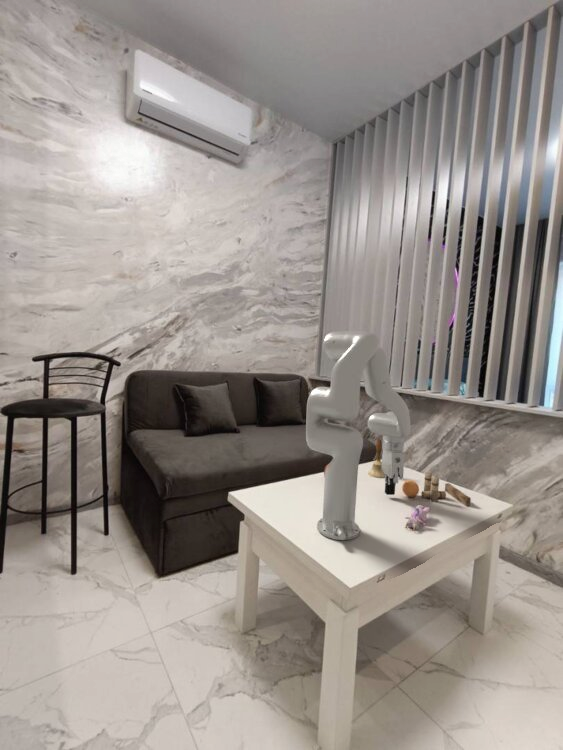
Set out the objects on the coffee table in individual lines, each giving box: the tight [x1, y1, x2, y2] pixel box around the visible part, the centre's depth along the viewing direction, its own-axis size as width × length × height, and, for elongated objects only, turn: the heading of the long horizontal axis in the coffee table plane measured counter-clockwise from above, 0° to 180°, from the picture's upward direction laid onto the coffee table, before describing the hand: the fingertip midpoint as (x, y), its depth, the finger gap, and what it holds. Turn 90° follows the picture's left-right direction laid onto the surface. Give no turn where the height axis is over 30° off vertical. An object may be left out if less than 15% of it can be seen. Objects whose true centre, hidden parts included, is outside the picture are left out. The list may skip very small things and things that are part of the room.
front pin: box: [420, 490, 447, 499], centre depth 134 cm, size 2×2×8 cm
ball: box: [401, 479, 420, 498], centre depth 134 cm, size 6×6×6 cm
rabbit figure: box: [404, 504, 430, 533], centre depth 113 cm, size 6×6×15 cm
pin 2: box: [429, 476, 440, 503], centre depth 131 cm, size 2×2×8 cm
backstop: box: [444, 483, 472, 507], centre depth 134 cm, size 14×2×3 cm, turn 5°
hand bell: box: [367, 438, 385, 479], centre depth 156 cm, size 8×8×16 cm
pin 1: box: [423, 471, 433, 491], centre depth 136 cm, size 2×2×8 cm
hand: (389, 493), depth 132 cm, fingers closed
